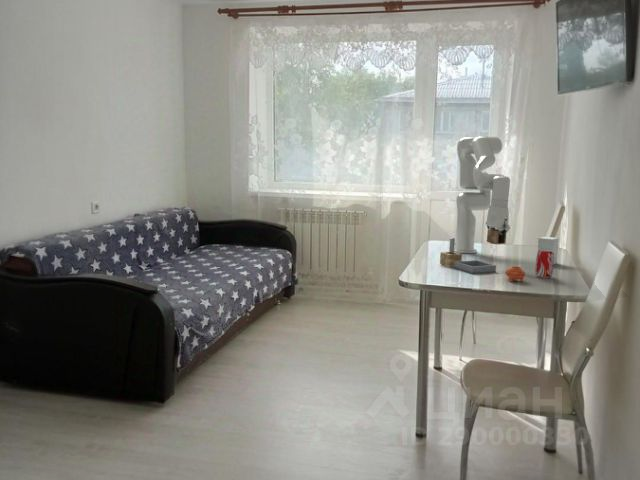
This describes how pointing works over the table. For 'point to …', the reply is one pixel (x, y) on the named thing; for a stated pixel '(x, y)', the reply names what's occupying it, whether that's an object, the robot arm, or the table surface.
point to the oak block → (449, 258)
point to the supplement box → (549, 245)
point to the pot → (515, 273)
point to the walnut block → (494, 236)
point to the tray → (475, 266)
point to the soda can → (544, 263)
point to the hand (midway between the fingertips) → (496, 241)
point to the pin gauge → (451, 246)
